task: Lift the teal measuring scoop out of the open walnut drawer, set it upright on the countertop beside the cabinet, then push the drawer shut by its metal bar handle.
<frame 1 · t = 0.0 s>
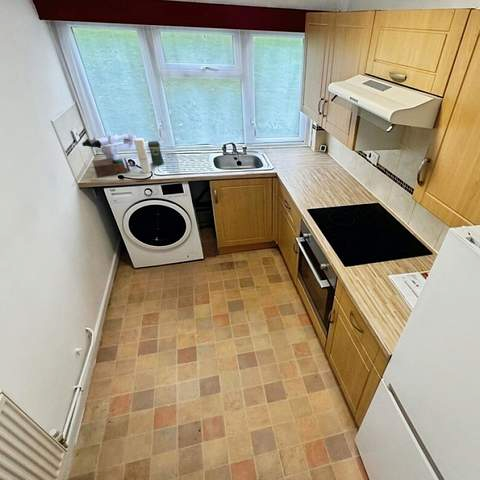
hand: (86, 145, 225), 22 cm above the worktop, tool horizontal, fingers open, 7 cm apart
cabinet: (106, 173, 240), on the worktop
drawer: (122, 165, 242), point 4 cm above the worktop, slide at 9.3 cm, touching scoop
cylindrical container: (146, 171, 245), on the worktop
scoop: (121, 168, 244), point 2 cm above the worktop, touching drawer
coffee jar: (158, 163, 260), on the worktop
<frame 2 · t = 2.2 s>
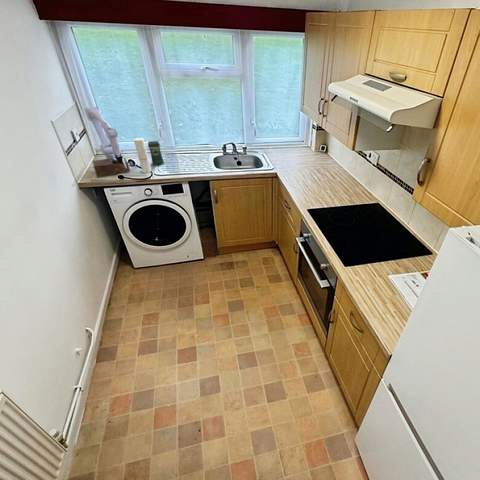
hand: (120, 163, 242), 6 cm above the worktop, tool pointing down, fingers open, 7 cm apart
drawer: (122, 165, 242), point 4 cm above the worktop, slide at 9.3 cm, touching gripper, scoop
everything else where it was.
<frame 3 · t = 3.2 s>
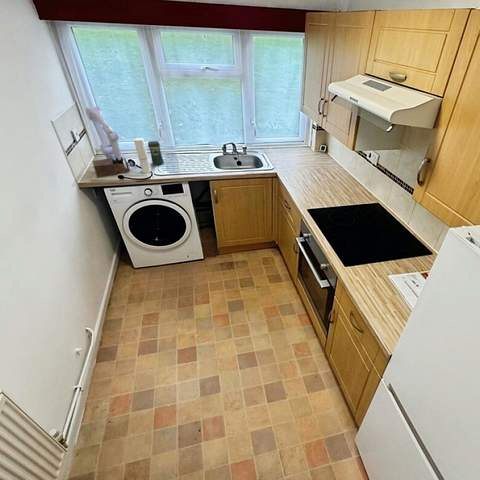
hand: (121, 166, 243), 3 cm above the worktop, tool pointing down, fingers closed on scoop, 4 cm apart
drawer: (122, 165, 242), point 4 cm above the worktop, slide at 9.3 cm, touching scoop
scoop: (121, 167, 244), point 2 cm above the worktop, touching drawer, gripper
everything else where it was.
when the fingers open (1 cm above the worktop, at t = 8.4 s): scoop stays where it is, on the worktop.
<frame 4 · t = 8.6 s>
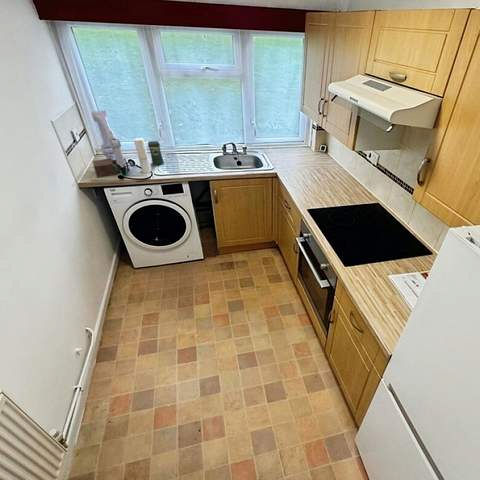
hand: (124, 173, 236), 1 cm above the worktop, tool pointing down, fingers open, 5 cm apart
drawer: (122, 165, 242), point 4 cm above the worktop, slide at 9.3 cm, touching gripper
scoop: (124, 175, 237), on the worktop
everything else where it was.
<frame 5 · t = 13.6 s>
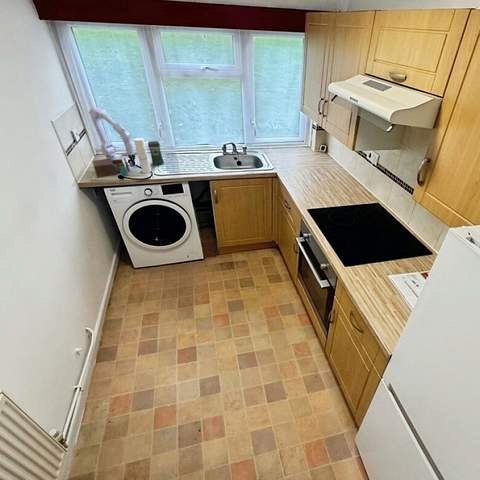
hand: (133, 164, 246), 4 cm above the worktop, tool pointing down, fingers closed
nothing on the worktop moved.
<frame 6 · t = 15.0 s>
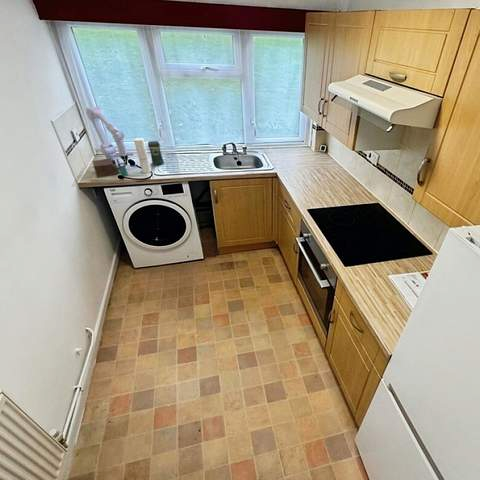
hand: (126, 165, 244), 4 cm above the worktop, tool pointing down, fingers closed
drawer: (114, 166, 240), point 4 cm above the worktop, slide at 3.6 cm, touching gripper
everything else where it was.
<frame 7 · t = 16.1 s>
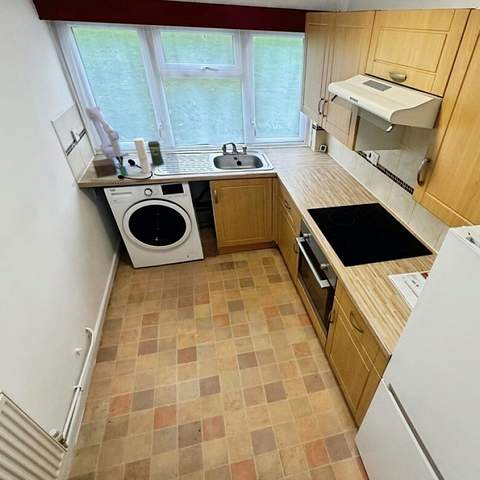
hand: (122, 165, 242), 4 cm above the worktop, tool pointing down, fingers closed
drawer: (109, 167, 239), point 4 cm above the worktop, slide at 0.0 cm, touching gripper
everything else where it was.
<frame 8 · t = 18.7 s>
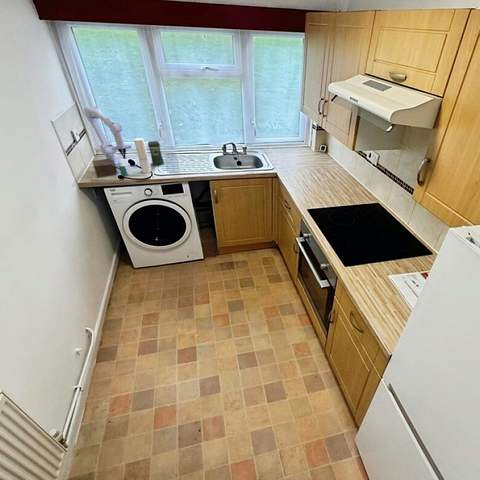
hand: (124, 158, 240), 9 cm above the worktop, tool pointing down, fingers closed
drawer: (109, 167, 239), point 4 cm above the worktop, slide at 0.0 cm
everything else where it was.
at the end: scoop 0.2 cm from the target spot, on the worktop; scoop tilted 0°; drawer slide at 0.0 cm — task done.
